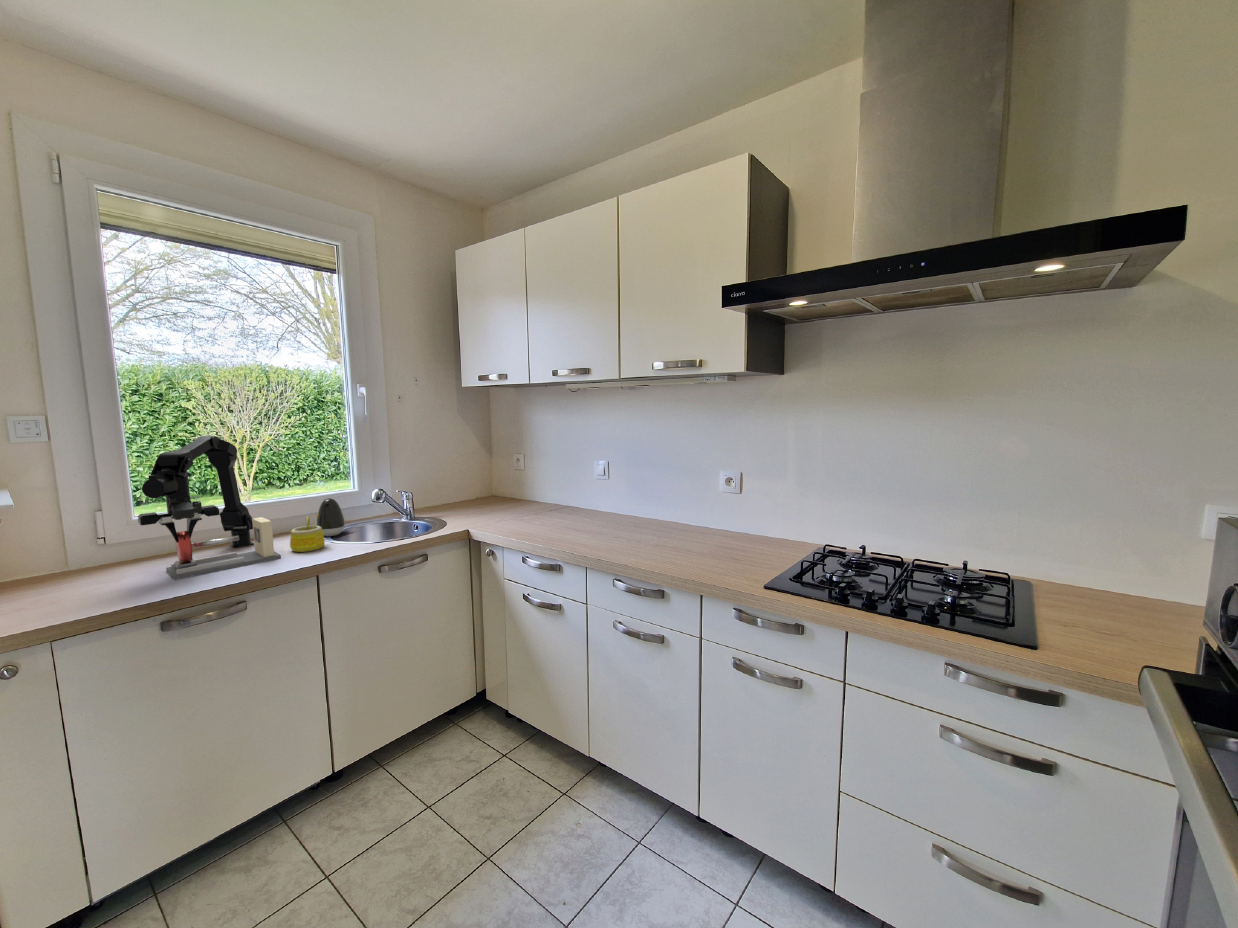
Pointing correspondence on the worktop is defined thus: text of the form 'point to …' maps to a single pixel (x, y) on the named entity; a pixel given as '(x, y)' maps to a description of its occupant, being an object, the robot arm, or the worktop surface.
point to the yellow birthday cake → (307, 537)
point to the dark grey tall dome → (330, 518)
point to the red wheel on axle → (186, 547)
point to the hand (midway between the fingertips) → (183, 541)
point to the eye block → (234, 554)
